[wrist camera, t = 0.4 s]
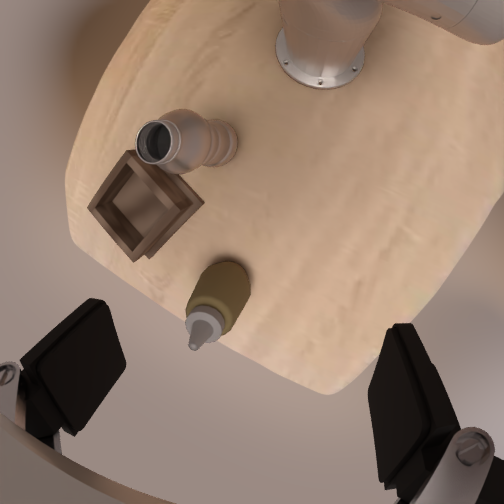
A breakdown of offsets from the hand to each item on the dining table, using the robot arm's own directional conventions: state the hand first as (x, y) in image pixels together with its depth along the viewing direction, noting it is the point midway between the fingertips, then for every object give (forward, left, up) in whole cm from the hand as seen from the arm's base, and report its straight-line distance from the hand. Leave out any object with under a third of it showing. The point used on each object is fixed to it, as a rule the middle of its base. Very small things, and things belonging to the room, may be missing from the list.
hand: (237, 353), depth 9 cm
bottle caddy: (+2, -22, -34) cm, 41 cm away
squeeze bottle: (+14, -8, -34) cm, 38 cm away
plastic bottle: (-7, -10, -34) cm, 36 cm away
